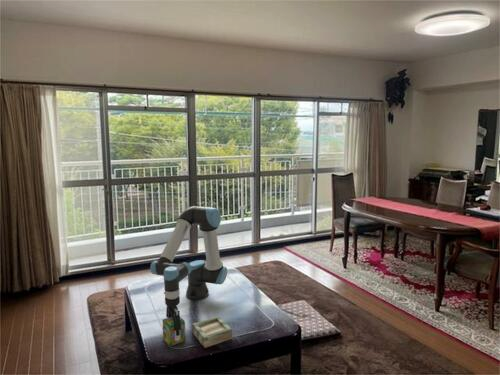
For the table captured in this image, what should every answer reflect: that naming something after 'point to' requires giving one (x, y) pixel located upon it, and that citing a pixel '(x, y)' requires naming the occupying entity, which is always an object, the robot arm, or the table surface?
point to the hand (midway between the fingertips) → (174, 335)
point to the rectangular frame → (212, 331)
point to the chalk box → (172, 331)
